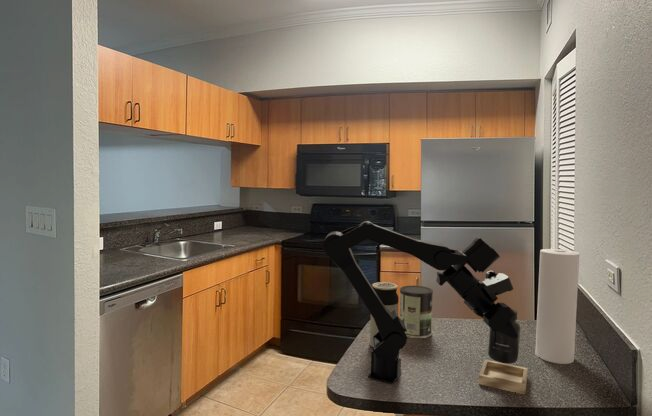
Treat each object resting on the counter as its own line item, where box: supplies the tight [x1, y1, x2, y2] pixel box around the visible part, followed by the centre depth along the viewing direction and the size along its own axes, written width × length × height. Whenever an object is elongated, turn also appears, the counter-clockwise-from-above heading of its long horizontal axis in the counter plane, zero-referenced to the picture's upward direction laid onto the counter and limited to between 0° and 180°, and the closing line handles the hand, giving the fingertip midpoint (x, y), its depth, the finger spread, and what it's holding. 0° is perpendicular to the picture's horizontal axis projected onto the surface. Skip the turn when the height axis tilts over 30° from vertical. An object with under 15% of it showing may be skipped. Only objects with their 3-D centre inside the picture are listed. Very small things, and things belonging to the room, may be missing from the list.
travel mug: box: [369, 281, 400, 348], centre depth 121 cm, size 8×8×18 cm
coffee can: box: [399, 285, 434, 339], centre depth 131 cm, size 10×10×14 cm
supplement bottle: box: [487, 308, 522, 365], centre depth 100 cm, size 7×7×12 cm
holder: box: [478, 359, 528, 396], centre depth 100 cm, size 10×10×2 cm
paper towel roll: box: [534, 248, 580, 365], centre depth 114 cm, size 9×9×30 cm
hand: (510, 331), depth 100 cm, fingers closed on supplement bottle, 7 cm apart
